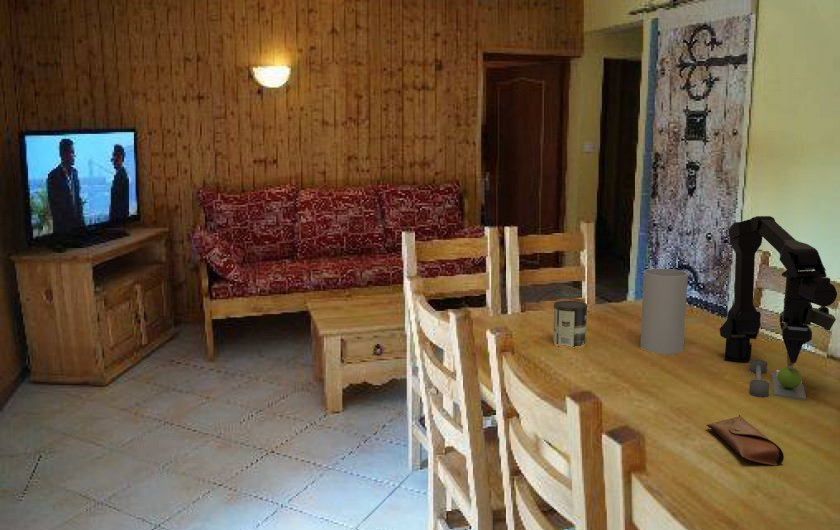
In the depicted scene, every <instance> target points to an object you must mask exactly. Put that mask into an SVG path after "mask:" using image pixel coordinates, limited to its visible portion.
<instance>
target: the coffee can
mask: <svg viewBox="0 0 840 530" xmlns="http://www.w3.org/2000/svg"><path fill="white" fill-rule="evenodd" d="M587 312H588V303H586V302H583V301H579V300H560V301H555V302H554V303H553V340H552V342H553V341H554V342H555V343H556V344H559V345H564V346H571V347H572V346H573V347H575V346H581V345H584V344H585V343H586V344H587V318H588V313H587Z"/></svg>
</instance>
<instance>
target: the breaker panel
mask: <svg viewBox="0 0 840 530" xmlns="http://www.w3.org/2000/svg"><path fill="white" fill-rule="evenodd" d="M780 370H781V369H776V370H775V371H776V372H772V371H771V376H772V377H771V378H772V385H773V396H774V397H778V398H779V397H780V398H787V399H794V400H795V399H796V400H802V399H804V400H803V401H806V400H807V395H806V392H805V391H806V390H805V387H804V383H803V384H802V383H800V384H799V386H797V387H796V388H792V389H789V388H785V387H783V386H782V385H781V384H780V383H779V381H778V373H779V371H780Z"/></svg>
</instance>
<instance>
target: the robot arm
mask: <svg viewBox="0 0 840 530" xmlns="http://www.w3.org/2000/svg"><path fill="white" fill-rule="evenodd" d="M728 236H729V244H730V246H731V248H732V250H733V251H734V252H735V264H734V267H735V268H734V270H735V271H734V297H733V299H734V300H733V301H734V302H733V304H732V305H731V307H730V308H729V310H728V311H727V314H726V315H727V317H726V321H725V322H724V323H723V324H722V325H721V327H720V328H719V336H720V337H722V338H724V339H725V346H724V347H725V348H724V356H723V359H724V360H726V361H727V360H728V361H736V362H744V363H748V362H749V363H750V359H752V347H753V343H752V342H750V341H751V340H757V338H758V334H759V332H760V328H761V326H762V324H761V316H762V314H761V311H759V310H757V308H756V307H755V305H754V295H755V293H754V291H755V288H754V287H755V264H756V261H755V259H756V253H757V252H758V250H759V249H760V247H761V245H762V243H763V238H764V240H766V241H767V243H768V244H769V245H771V247H773V248H774V250H775V251H777V252H778V254H779V261H780V263H781V264H782V265H783V267H784V268H785V269H786V270H785V271H783V272H782V273H781V276H782V277H784V278H785V287H784V298H783V311H780V313H779V321H778V322H779V326H780V329H781V336H782V337H781V338H782V340H783V343H784V347H785V349H786V353H787V352H788V356H789V359H790V362H791V363H794V364H796V363H797V361H798V358H799V355H800V352H801V350H802V348H803V345H805V344H807V343H810V342H811V340H812V338H813V330H812V328H811V327H810V326H811V325H812V324H814V325H816V326H817V327H818V326H819V327H821V328H823V330H826V331H831V329H832V328H833V326H834V324H835V322H836V320H837V318H836V316H834V315H833V314H832V313H830V310H829V309H830V308H828V307H829V306H831V305H833V303H834V302H835V301H836V300H837V297H838V292H837V289H836V287H835V285H834V284H832V283H831V278H830V277H827V273H826V268H825V266H824V265H823V261H822V259H821V256H820V254H819V251H818V250H817V248H815V247H813V246H812V245H810V244H808V243H806V242H801V241H799V240H797V239H795V237H793V236H792V235H791V234H790V233H789V232H787V230H785V229H784V228H783V227H782V226H781V225H780V224H779V223H777V222H776V220H775V218H774V217H773V216H771V215H758V216H757V215H755V216H754V217H752V218H750V219H746V220H743V221H735V222H733V223H732V225H730V226H729V229H728ZM812 304H814V305H817V306H819V307H818V308H817V307H813V305H812Z"/></svg>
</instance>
